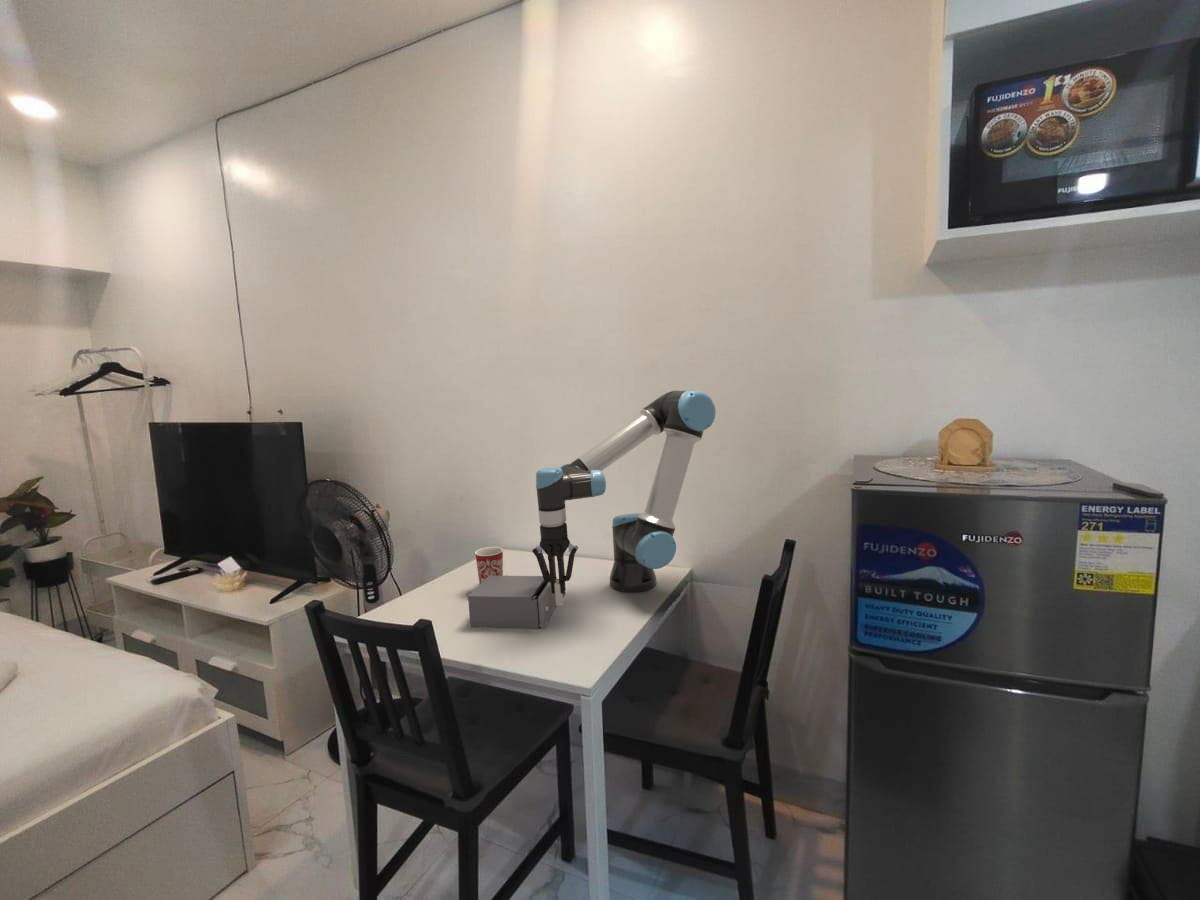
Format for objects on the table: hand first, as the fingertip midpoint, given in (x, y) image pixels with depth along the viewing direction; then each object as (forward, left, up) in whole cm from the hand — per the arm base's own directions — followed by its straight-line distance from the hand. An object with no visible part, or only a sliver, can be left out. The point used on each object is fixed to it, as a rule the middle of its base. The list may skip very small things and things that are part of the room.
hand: (559, 603), depth 152 cm
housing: (+15, 0, -4) cm, 15 cm away
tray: (+12, 0, -3) cm, 13 cm away
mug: (+28, -20, -4) cm, 34 cm away
